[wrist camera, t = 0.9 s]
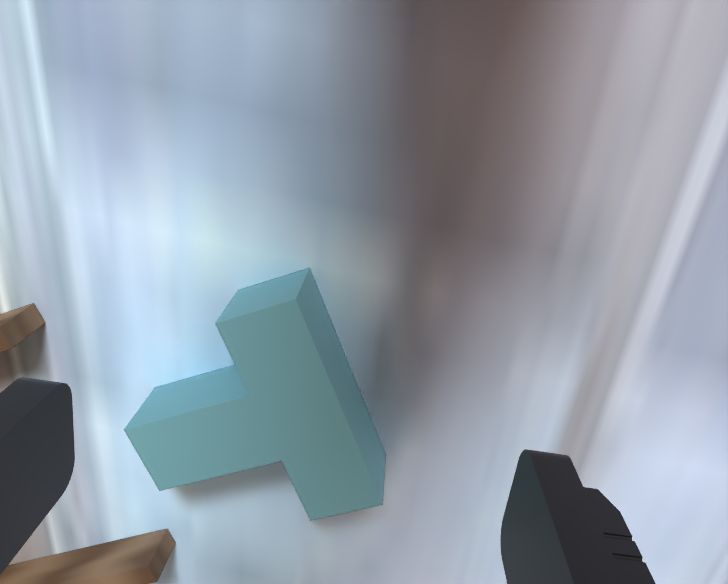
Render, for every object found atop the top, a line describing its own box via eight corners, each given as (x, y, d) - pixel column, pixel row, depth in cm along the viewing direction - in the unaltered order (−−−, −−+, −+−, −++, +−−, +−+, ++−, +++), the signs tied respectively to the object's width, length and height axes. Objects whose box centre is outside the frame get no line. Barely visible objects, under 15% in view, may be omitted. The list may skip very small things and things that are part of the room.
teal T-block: (309, 267, 31) (295, 299, 27) (385, 455, 35) (382, 504, 31) (121, 326, 33) (84, 362, 29) (214, 496, 37) (192, 547, 33)
